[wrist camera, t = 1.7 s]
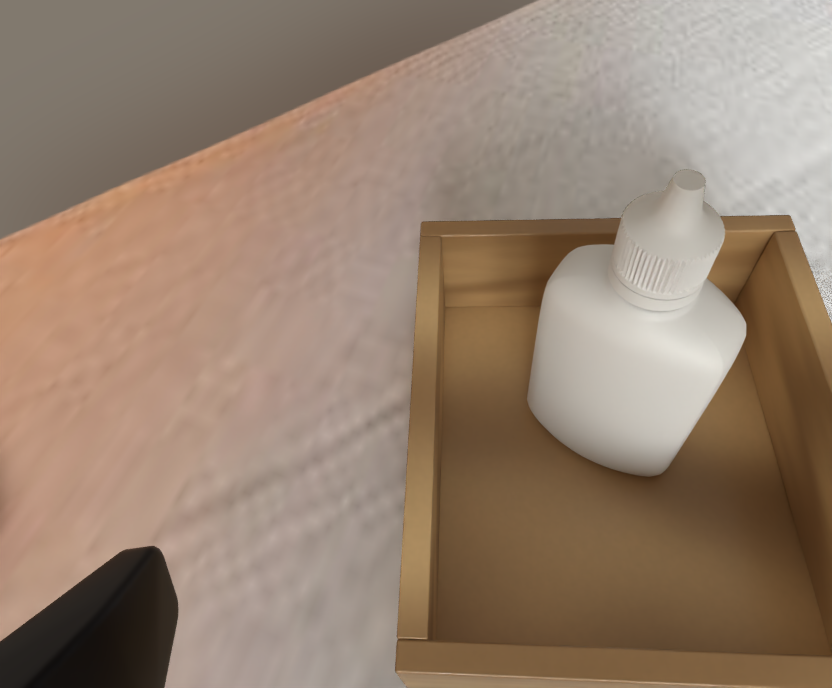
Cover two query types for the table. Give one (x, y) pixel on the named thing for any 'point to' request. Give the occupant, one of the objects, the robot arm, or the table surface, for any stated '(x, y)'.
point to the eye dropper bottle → (636, 334)
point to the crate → (613, 487)
